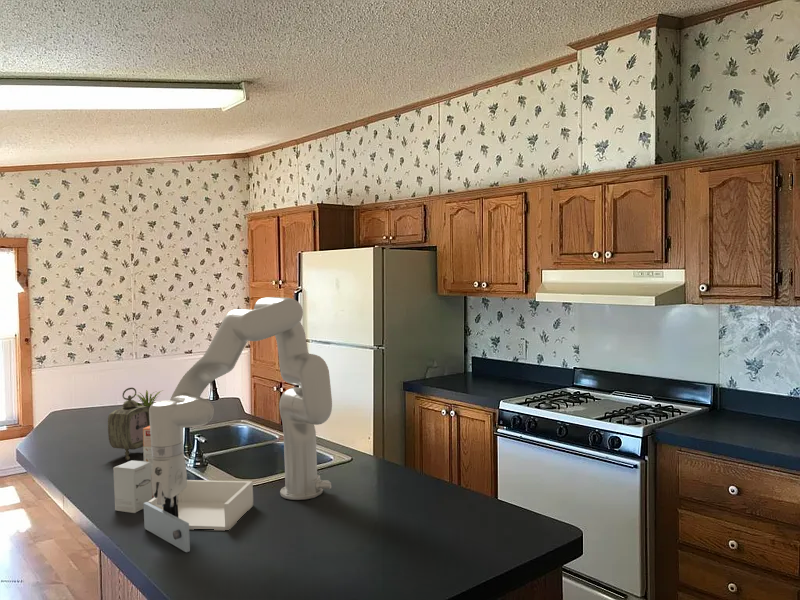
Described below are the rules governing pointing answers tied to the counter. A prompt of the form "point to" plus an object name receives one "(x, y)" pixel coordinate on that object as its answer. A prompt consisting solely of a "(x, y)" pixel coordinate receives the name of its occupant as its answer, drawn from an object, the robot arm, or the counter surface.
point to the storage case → (213, 503)
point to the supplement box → (132, 485)
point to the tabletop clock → (128, 425)
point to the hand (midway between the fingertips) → (171, 520)
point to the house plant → (145, 401)
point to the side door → (167, 526)
